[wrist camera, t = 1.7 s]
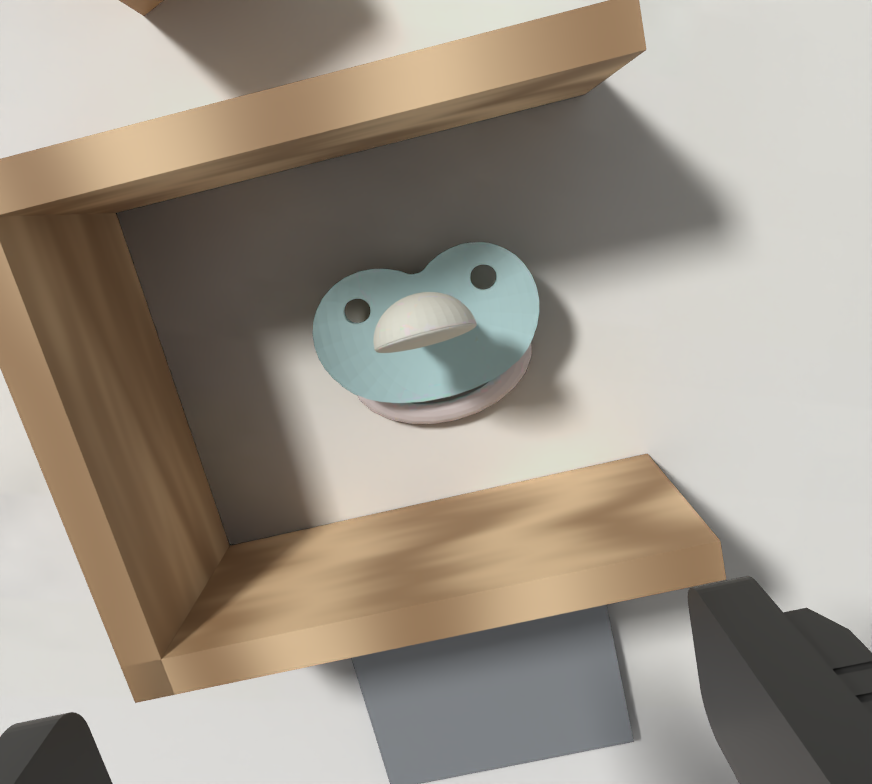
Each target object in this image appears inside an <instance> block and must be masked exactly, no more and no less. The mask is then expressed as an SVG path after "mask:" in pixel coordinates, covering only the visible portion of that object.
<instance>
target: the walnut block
mask: <svg viewBox="0 0 872 784" xmlns="http://www.w3.org/2000/svg"><path fill="white" fill-rule="evenodd" d="M119 1H121V2H123V3H124V4H126V5H127V6H129V7H130V8H132V9H134V10H135V11H137V12H138V13H140V14H141V15H143V16H145V15H146V14H147V13H149V12H150V11H151V10H152V9H154V8H155V7H156V6H158V5H159V4H160V3H161V2H163V1H164V0H119Z"/></svg>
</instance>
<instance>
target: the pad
mask: <svg viewBox="0 0 872 784" xmlns="http://www.w3.org/2000/svg"><path fill="white" fill-rule="evenodd" d="M352 662H353V665H354V668H355V671H356V675H357V678H358V681H359V684H360V688H361V691H362V694H363V697H364V701H365V704H366V707H367V710H368V714H369V717H370V720H371V723H372V727H373V730H374V733H375V736H376V740H377V743H378V746H379V749H380V753H381V756H382V759H383V762H384V766H385V769H386V772H387V775H388V779H389V782H390V784H421V783H426V782H431V781H436V780H441V779H446V778H451V777H456V776H461V775H466V774H472V773H477V772H482V771H487V770H492V769H497V768H502V767H507V766H512V765H517V764H522V763H528V762H533V761H538V760H543V759H548V758H553V757H558V756H563V755H568V754H573V753H579V752H584V751H589V750H594V749H599V748H604V747H609V746H614V745H619V744H624V743H629V742H634V740H633V735H632V730H631V725H630V720H629V715H628V710H627V705H626V700H625V695H624V690H623V685H622V680H621V675H620V670H619V665H618V660H617V655H616V650H615V645H614V640H613V635H612V630H611V625H610V620H609V615H608V610H607V605H602V606H597V607H592V608H587V609H583V610H578V611H573V612H568V613H563V614H559V615H554V616H549V617H544V618H539V619H535V620H530V621H525V622H520V623H515V624H511V625H506V626H501V627H496V628H492V629H487V630H482V631H477V632H472V633H468V634H463V635H458V636H453V637H448V638H444V639H439V640H434V641H429V642H424V643H420V644H415V645H410V646H405V647H400V648H396V649H391V650H386V651H381V652H376V653H372V654H367V655H362V656H357V657H353V658H352Z"/></svg>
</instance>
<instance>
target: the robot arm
mask: <svg viewBox="0 0 872 784" xmlns="http://www.w3.org/2000/svg"><path fill="white" fill-rule="evenodd" d="M688 606H689V613H690V620H691V627H692V634H693V641H694V648H695V655H696V662H697V669H698V676H699V682H700V689H701V695H702V699H703V703H704V707H705V710H706V714H707V717H708V720H709V723H710V726H711V728H712V731H713V733H714V736H715V738H716V740H717V742H718V744H719V746H720V748H721V750H722V752H723V754H724V756H725V758H726V759H727V761H728V763H729V765H730V767H731V769H732V770H733V772H734V774H735V776H736V778H737V780H738V782H739V783H740V784H872V652H871V651H870V650H869V649H868V648H867V647H866V646H865V645H864V644H863V643H862V642H861V641H860V640H859V639H858V638H857V637H856V636H855V635H854V634H853V633H852V632H851V631H850V630H849V629H847V628H845V627H843V626H841V625H839V624H837V623H835V622H833V621H832V620H830V619H828V618H826V617H824V616H822V615H820V614H818V613H816V612H814V611H812V610H810V609H808V608H803V609H798V610H793V611H789V612H784V613H783V612H782V611H781V609H780V608H779V607H778V606H777V605H776V604H775V603H774V601H773V600H772V599H771V598H770V597H769V596H768V594H767V593H766V592H765V591H764V590H763V589H762V588H761V586H760V585H759V584H758V583H757V582H756V581H755V580H754V579H753V578H752V577H750V576H746V577H741V578H736V579H731V580H726V581H721V582H716V583H711V584H706V585H701V586H697V587H692V588H690V589H689V591H688ZM0 784H112V782H111V779H110V777H109V774H108V772H107V770H106V767H105V765H104V762H103V760H102V758H101V755H100V753H99V750H98V748H97V746H96V743H95V741H94V738H93V736H92V734H91V731H90V729H89V727H88V725H87V723H86V721H85V720H84V718H83V717H82V716H80V715H79V714H77V713H73V712H71V713H66V714H61V715H56V716H51V717H46V718H41V719H36V720H32V721H27V722H22V723H17V724H14V725H12V726H11V727H9V728H8V729H7V730H6V731H5V732H4V733H3V734H2V735H1V737H0Z"/></svg>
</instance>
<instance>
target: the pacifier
mask: <svg viewBox="0 0 872 784" xmlns="http://www.w3.org/2000/svg"><path fill="white" fill-rule="evenodd" d="M483 264H485V265H489V266H491V267H492V268H493V269H494V270H495V272H496V281H495V283H494V285H493V286H491V287H490V288H488V289H479V288H477V287H475V286H474V285H473V284H472V283H471V280H470V275H471V272H472V270H473V269H474V268H475V267H476V266H478V265H483ZM357 298H358V299H363V300H365V301H366V302H367V303H368V304H369V306H370V310H371V312H370V316H369V318H368V319H367V320H366V321H364V322H361V323H353V322H351V321H350V320H349V319H347V317H346V315H345V311H344V310H345V306H346V304H347V303H348V302H349V301H350V300H352V299H357ZM538 317H539V296H538V291H537V287H536V284H535V282H534V279H533V277H532V275H531V273H530V272H529V270H528V269H527V267H526V266H525V264H524V263H523V262H522V261H521V260H520V259H519V258H518V257H517V256H516V255H515V254H513V253H511V252H510V251H508V250H507V249H505V248H503V247H500V246H497V245H495V244H491V243H487V242H472V243H464V244H461V245H458V246H455V247H452V248H450V249H448V250H446V251H444V252H442V253H441V254H439V255H438V256H437V257H436V258H434V259H433V260H432V261H431V262H430V263H429V264H428V265H427V266H426V267H425V269H424V270H423V271H421V272H419V273H417V274H406V273H404V272H401V271H397V270H390V269H370V270H365V271H360V272H357V273H355V274H352V275H350V276H348V277H345V278H344V279H342V280H341V281H339V282H338V283H337V284H335V285H334V286H333V287H332V288H331V289H330V290H329V291H328V292H327V294H326V295H325V296H324V297H323V299H322V301H321V303H320V304H319V306H318V308H317V311H316V314H315V318H314V321H313V340H314V346H315V349H316V352H317V355H318V358H319V360H320V361H321V363H322V365H323V366H324V368H325V370H326V371H327V372H328V373H329V374H330V375H331V377H332V378H333V379H334V380H336V381H337V382H338V383H340V384H341V386H342V387H344V388H345V389H347V390H348V391H350V392H352V393H353V394H355V395H357V396H358V398H359V400H360V401H361V402H362V403H363V404H365V405H366V406H367V407H368V408H369V409H370V410H371V411H373V412H375V413H377V414H379V415H381V416H383V417H386V418H388V419H390V420H395V421H400V422H405V423H410V424H435V423H441V422H447V421H453V420H458V419H460V418H463V417H466V416H469V415H472V414H475V413H478V412H480V411H482V410H483V409H485V408H487V407H489V406H491V405H492V404H494V403H496V402H498V401H499V400H500V399H502V398H503V397H504V396H505V395H506V394H507V393H509V392H510V391H511V390H512V389H513V388H514V387H515V386H516V385H517V383H518V382H519V381H520V379H521V378H522V376H523V375H524V374H525V372H526V370H527V367H528V364H529V361H530V359H531V356H532V352H531V341H532V339H533V337H534V332H535V330H536V327H537V323H538ZM456 394H457V395H456ZM452 395H454V396H452ZM449 396H451V397H449ZM444 397H446V398H444Z"/></svg>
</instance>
